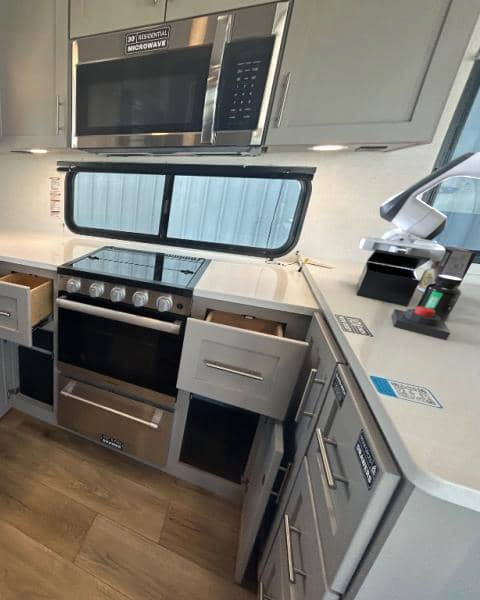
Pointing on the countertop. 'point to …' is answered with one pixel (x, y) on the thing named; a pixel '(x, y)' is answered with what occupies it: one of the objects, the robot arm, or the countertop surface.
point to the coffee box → (447, 266)
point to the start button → (424, 311)
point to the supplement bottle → (441, 295)
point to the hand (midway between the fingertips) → (401, 252)
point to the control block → (420, 323)
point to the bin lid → (397, 259)
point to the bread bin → (387, 283)
